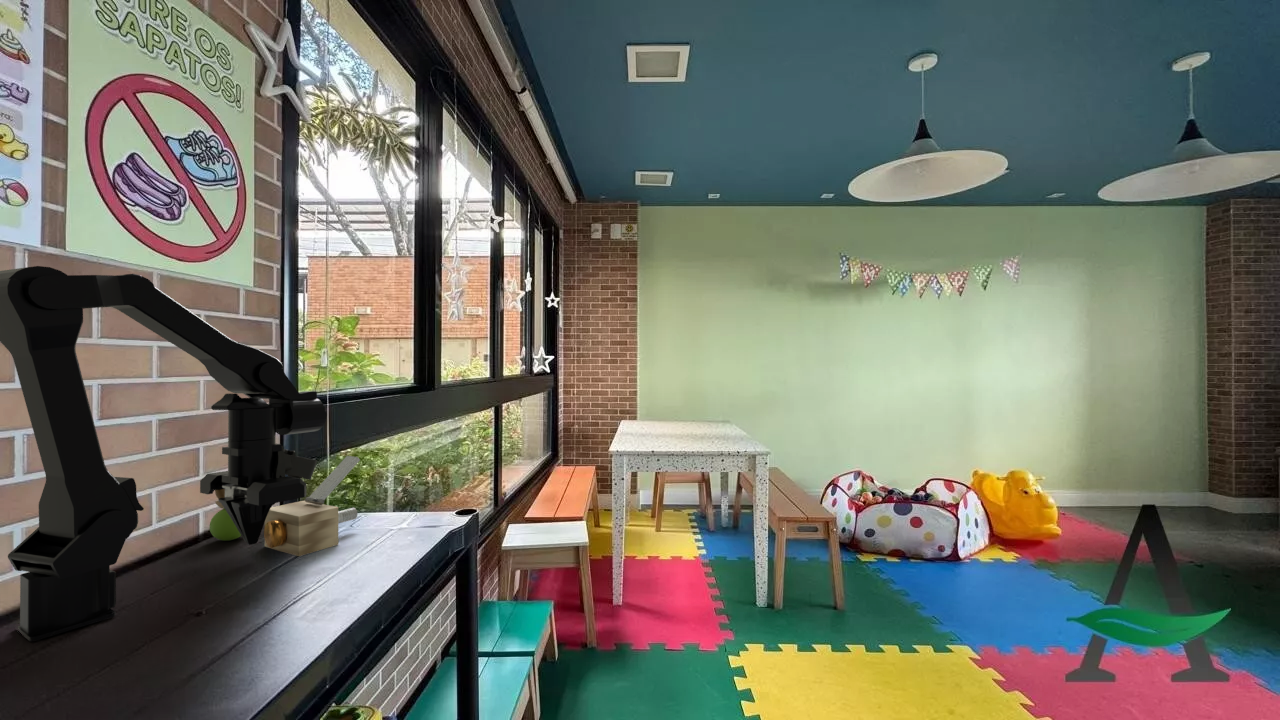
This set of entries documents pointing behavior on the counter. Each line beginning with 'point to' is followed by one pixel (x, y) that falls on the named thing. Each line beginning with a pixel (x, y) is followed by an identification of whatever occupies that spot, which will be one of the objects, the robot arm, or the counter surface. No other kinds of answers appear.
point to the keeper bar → (332, 480)
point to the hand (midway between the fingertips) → (251, 543)
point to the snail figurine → (223, 522)
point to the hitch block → (306, 527)
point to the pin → (277, 529)
